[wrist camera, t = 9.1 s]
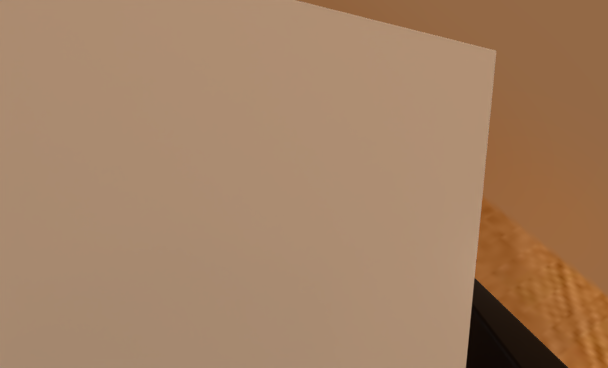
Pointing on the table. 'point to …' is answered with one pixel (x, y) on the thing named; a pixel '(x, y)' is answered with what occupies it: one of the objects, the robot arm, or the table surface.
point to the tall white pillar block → (236, 186)
